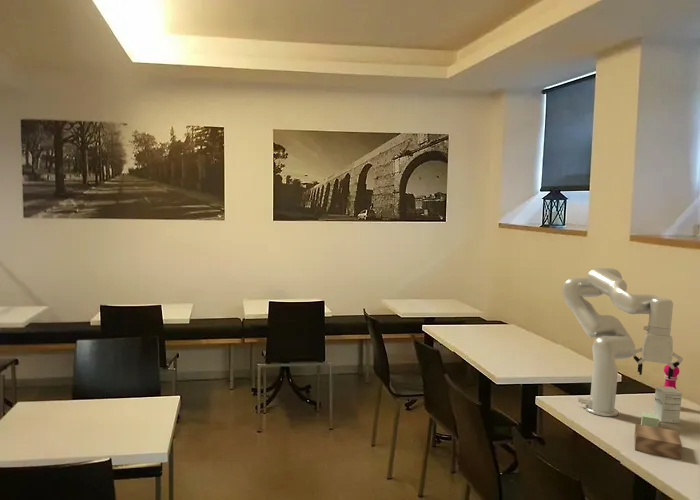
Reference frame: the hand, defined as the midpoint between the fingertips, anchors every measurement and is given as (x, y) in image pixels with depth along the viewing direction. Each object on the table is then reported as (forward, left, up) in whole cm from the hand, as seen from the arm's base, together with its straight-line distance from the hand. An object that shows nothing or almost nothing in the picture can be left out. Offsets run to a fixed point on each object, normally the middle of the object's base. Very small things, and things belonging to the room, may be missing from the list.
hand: (654, 376), depth 228 cm
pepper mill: (+9, +42, -22) cm, 48 cm away
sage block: (0, 0, -22) cm, 22 cm away
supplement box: (+7, +22, -22) cm, 32 cm away
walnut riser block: (+2, -14, -22) cm, 26 cm away
